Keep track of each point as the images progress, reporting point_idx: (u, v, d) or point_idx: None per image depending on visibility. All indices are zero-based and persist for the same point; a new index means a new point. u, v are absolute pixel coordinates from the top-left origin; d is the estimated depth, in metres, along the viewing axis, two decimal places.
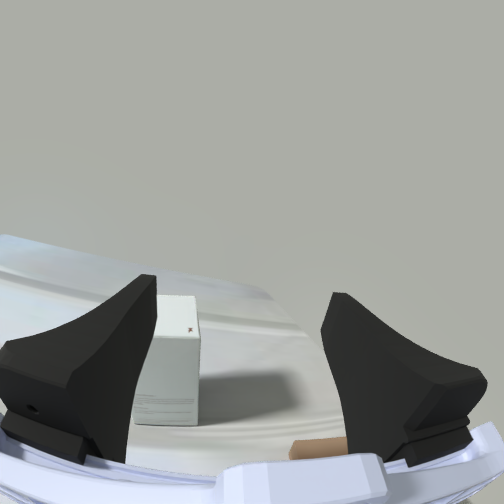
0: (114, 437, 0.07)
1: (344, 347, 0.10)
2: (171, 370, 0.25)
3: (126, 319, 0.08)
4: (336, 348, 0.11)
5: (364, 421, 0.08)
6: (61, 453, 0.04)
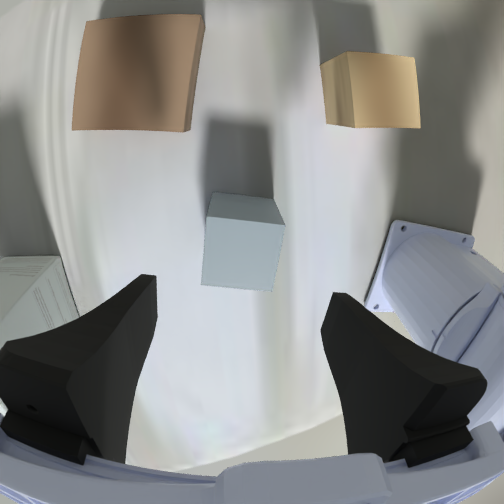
0: (114, 437, 0.07)
1: (344, 347, 0.10)
2: None
3: (126, 319, 0.08)
4: (336, 348, 0.11)
5: (364, 421, 0.08)
6: (61, 453, 0.04)
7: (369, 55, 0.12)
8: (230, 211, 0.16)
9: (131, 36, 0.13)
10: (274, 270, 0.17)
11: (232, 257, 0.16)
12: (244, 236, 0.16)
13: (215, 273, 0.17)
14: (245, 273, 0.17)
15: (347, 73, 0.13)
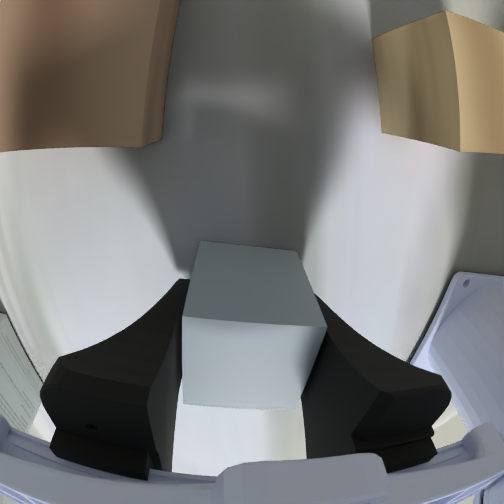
0: (167, 447, 0.07)
1: None
2: None
3: (177, 326, 0.08)
4: None
5: (319, 425, 0.08)
6: (61, 453, 0.04)
7: (477, 25, 0.05)
8: (227, 296, 0.09)
9: None
10: (301, 386, 0.09)
11: (232, 373, 0.09)
12: (252, 345, 0.08)
13: (204, 392, 0.09)
14: (253, 392, 0.09)
15: (445, 49, 0.05)
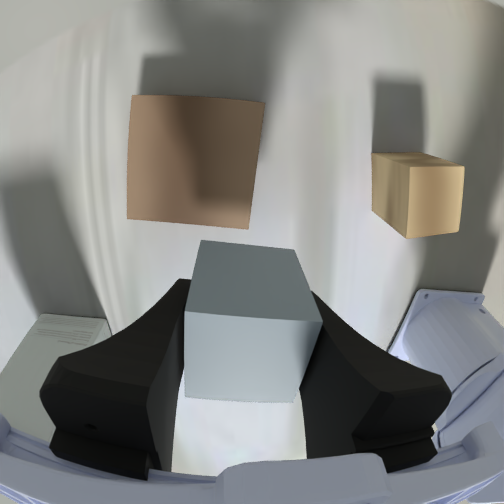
0: (167, 447, 0.07)
1: None
2: None
3: (177, 326, 0.08)
4: None
5: (320, 425, 0.08)
6: (61, 453, 0.04)
7: (428, 169, 0.14)
8: (227, 292, 0.09)
9: (188, 121, 0.14)
10: (298, 380, 0.10)
11: (232, 366, 0.09)
12: (251, 339, 0.09)
13: (205, 385, 0.10)
14: (253, 385, 0.10)
15: (406, 187, 0.14)
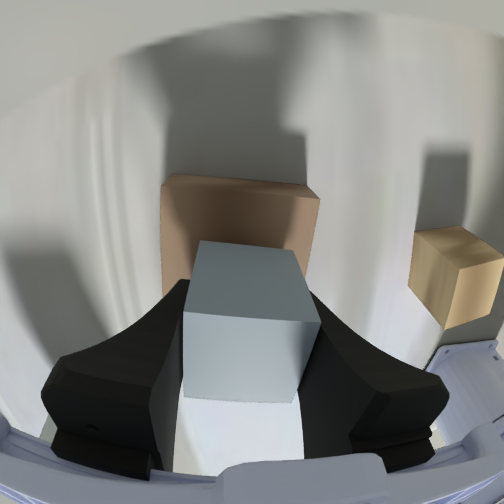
0: (169, 447, 0.07)
1: None
2: None
3: (178, 326, 0.08)
4: None
5: (317, 425, 0.08)
6: (61, 453, 0.04)
7: (474, 268, 0.13)
8: (226, 292, 0.09)
9: (232, 221, 0.13)
10: (297, 380, 0.10)
11: (230, 367, 0.09)
12: (249, 340, 0.09)
13: (204, 385, 0.10)
14: (251, 385, 0.10)
15: (452, 285, 0.13)
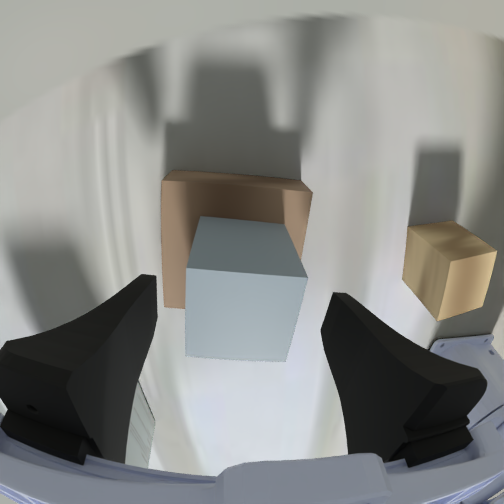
0: (114, 437, 0.07)
1: (344, 347, 0.10)
2: None
3: (126, 319, 0.08)
4: (336, 348, 0.11)
5: (364, 421, 0.08)
6: (61, 453, 0.04)
7: (466, 261, 0.13)
8: (223, 254, 0.11)
9: (229, 213, 0.14)
10: (289, 337, 0.11)
11: (228, 322, 0.11)
12: (245, 294, 0.10)
13: (204, 343, 0.11)
14: (247, 342, 0.11)
15: (444, 277, 0.14)
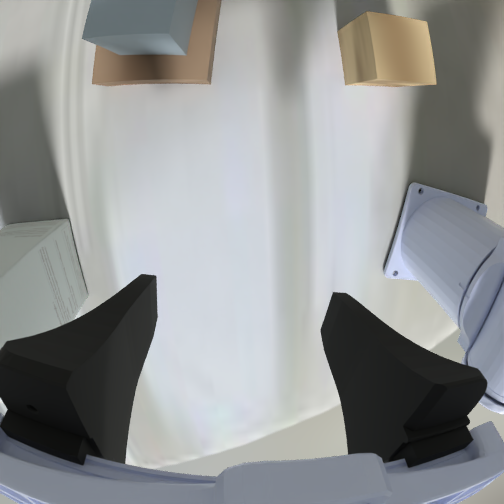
0: (114, 437, 0.07)
1: (344, 347, 0.10)
2: (19, 313, 0.13)
3: (126, 319, 0.08)
4: (336, 348, 0.11)
5: (364, 421, 0.08)
6: (61, 453, 0.04)
7: (386, 16, 0.11)
8: None
9: None
10: (172, 5, 0.09)
11: None
12: None
13: (100, 20, 0.09)
14: (135, 13, 0.09)
15: (367, 30, 0.12)
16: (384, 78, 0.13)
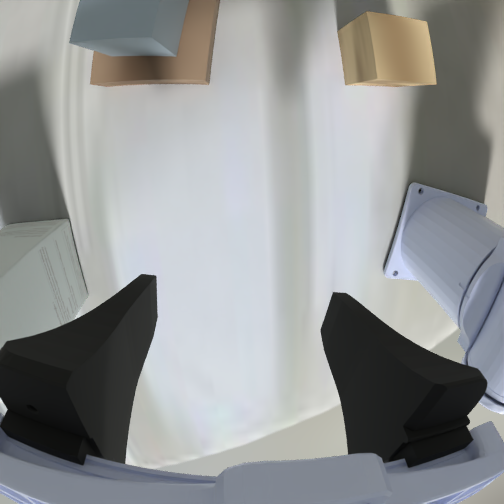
0: (114, 437, 0.07)
1: (344, 347, 0.10)
2: (19, 313, 0.13)
3: (126, 319, 0.08)
4: (336, 348, 0.11)
5: (364, 421, 0.08)
6: (61, 453, 0.04)
7: (386, 16, 0.11)
8: None
9: None
10: (155, 8, 0.09)
11: (107, 1, 0.08)
12: None
13: (86, 24, 0.09)
14: (119, 17, 0.09)
15: (367, 31, 0.12)
16: (384, 78, 0.13)
